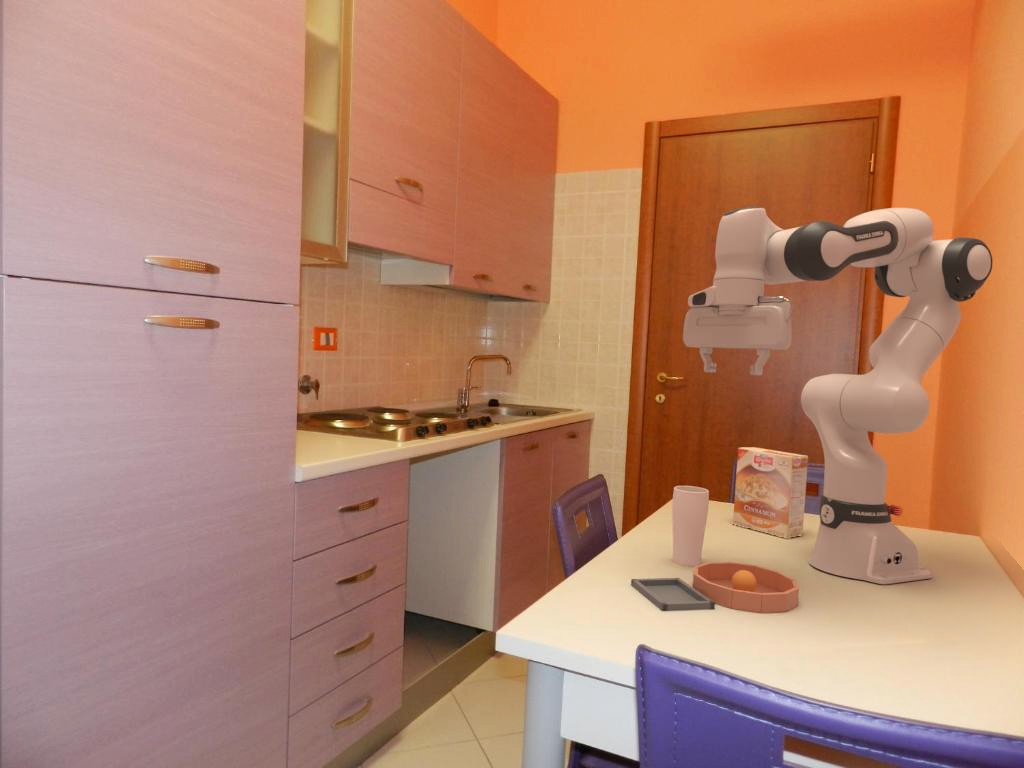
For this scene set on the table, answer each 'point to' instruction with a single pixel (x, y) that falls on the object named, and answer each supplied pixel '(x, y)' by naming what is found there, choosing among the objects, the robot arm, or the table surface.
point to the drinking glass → (689, 524)
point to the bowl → (767, 597)
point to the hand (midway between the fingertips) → (732, 373)
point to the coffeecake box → (770, 491)
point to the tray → (672, 594)
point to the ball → (744, 581)
